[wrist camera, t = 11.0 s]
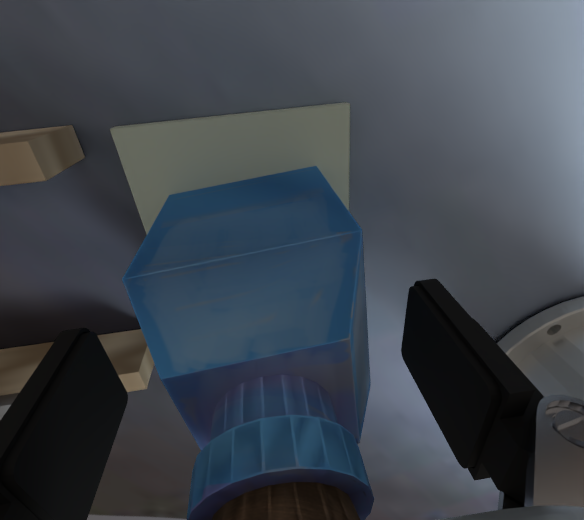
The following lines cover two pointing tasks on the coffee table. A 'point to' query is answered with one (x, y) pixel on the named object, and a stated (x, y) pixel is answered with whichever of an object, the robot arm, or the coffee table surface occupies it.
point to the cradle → (24, 360)
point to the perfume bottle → (262, 344)
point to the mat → (232, 151)
